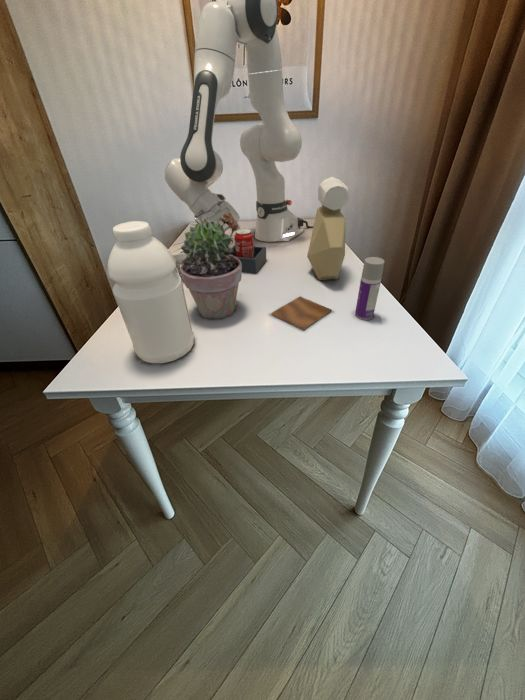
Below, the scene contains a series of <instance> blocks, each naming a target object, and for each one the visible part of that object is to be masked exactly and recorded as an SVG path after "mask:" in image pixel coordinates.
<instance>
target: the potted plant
mask: <svg viewBox="0 0 525 700" xmlns="http://www.w3.org/2000/svg"><path fill="white" fill-rule="evenodd" d="M223 217H224V218H225V219H224V218H220V219H221V220H220V219H219V220H220V221H222V222H223V223H224V224H225V223H226V224H227V225H228V226H229V227H230V228H229V229H230V231H229V232H231V233H230V234H227V233H226V231H224V228H223V225H224V224H223V225H220V224H219V222H220V221H219V222H218V220H217V223H216V224H215V225H214V222H210V223H209V222H207V221H206V219H204V222H203V221H201V223H200V224H197V223H196V224H194V226H192V224H190V226H189V231H187V232H184V236H185V239H184V241H183V242H180V243H178V245H180V244H182V243H183V244H182V245H181V246H180V248H177V249H176V250H174V251H173V253H174V252H178V251H180V250H181V251H182V252H180V253H183V252H184V253H186V254H187V256H186V258H185V259H184V260H182V259H181V260H182V261H183V262H182V263H183V264H182V263H181V264H182V265H181V264H179V265H180V272H181V276H180V277H181V279H182V283H183V285H185V287H186V288H187V289H188V291H189V293H190V294H191V296H192V299H193V301H194V303H195V305H196V308H197V309H198V311H199V313H200V315H201V316H202V317H203V318H206V319H210V320H218V319H224V318H226V317H229V316H231V315H232V314H233V313H234V312H235V310H236V309H235V308H236V304H237V297H238V290H239V285H240V282H241V281H242V273H243V272H242V263H241V261H240V260H239V259H238V258H237V257H235V256H233V255H229V254H231V253H235V252H233V251H235V250H232V248H233V247H234V246H235V245H233V246H232V248H231V246H229V244H230V242H231V240H233V242H235V238H234V237H233V234H234V232H236V230H237V223H238V221H237V222H236V221H235V219H234V218H233V216H232V214H231V213H225V214H224V215H223ZM207 219H208V217H207ZM239 242H240V241H239ZM176 245H177V243H175V244H173V245H171V247H172V246H176ZM179 265H178V266H179ZM178 266H177V267H178ZM177 267H176V268H177ZM244 271H245V270H244Z"/></svg>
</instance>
